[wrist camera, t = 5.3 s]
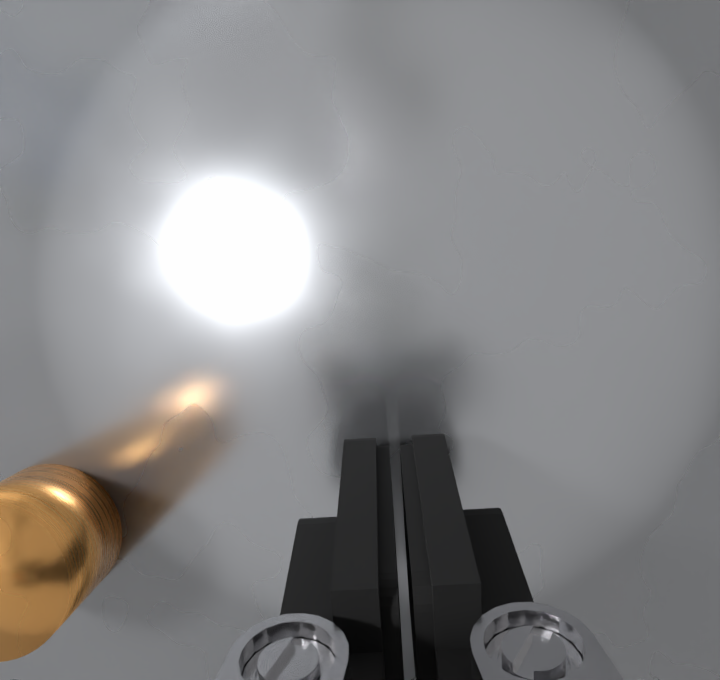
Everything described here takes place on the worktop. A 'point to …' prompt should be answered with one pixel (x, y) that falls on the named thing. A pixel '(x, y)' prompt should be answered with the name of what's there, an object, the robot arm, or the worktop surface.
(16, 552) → the cooker lid
